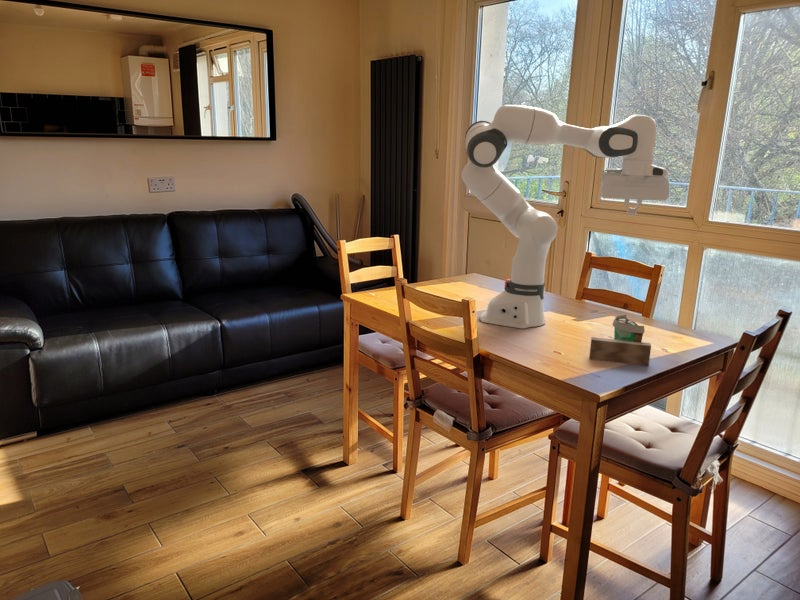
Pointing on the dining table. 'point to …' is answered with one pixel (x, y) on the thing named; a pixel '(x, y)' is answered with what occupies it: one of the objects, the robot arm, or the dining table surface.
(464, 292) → the dining table surface
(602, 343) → the walnut bar
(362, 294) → the dining table surface
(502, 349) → the dining table surface
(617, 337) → the food container
